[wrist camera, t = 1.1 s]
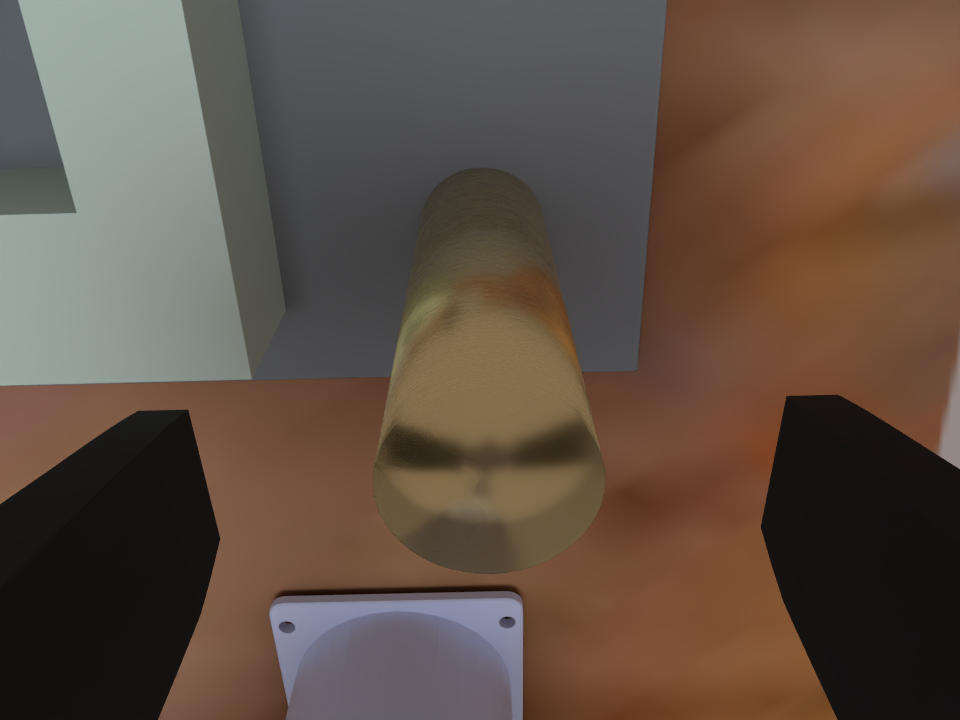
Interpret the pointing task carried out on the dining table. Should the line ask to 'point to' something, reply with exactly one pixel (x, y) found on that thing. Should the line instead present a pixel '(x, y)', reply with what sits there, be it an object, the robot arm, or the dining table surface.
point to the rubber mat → (425, 153)
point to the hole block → (139, 202)
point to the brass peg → (486, 390)
